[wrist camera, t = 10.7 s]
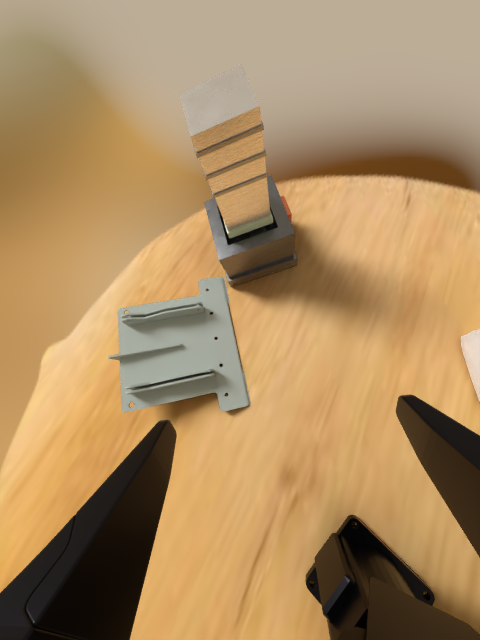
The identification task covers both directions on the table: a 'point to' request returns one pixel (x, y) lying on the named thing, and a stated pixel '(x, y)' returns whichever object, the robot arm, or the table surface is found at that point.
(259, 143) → the column
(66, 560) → the robot arm
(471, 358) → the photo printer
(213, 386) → the metal bracket
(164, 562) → the table surface
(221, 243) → the collar
